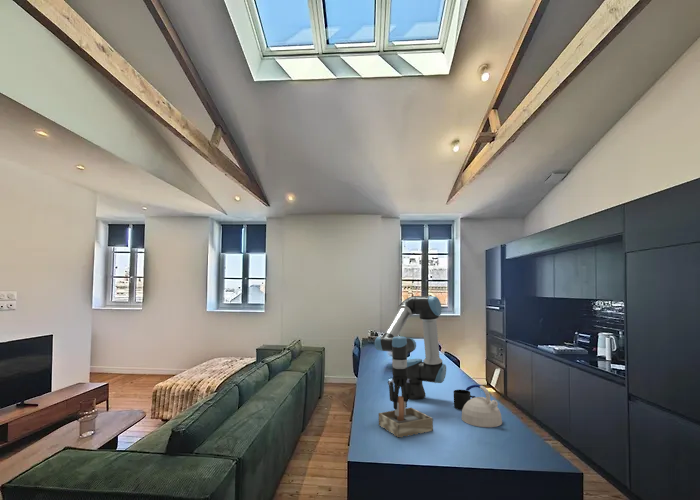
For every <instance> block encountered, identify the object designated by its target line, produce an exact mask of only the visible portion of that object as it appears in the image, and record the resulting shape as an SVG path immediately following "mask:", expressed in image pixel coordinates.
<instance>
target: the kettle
mask: <svg viewBox="0 0 700 500" xmlns="http://www.w3.org/2000/svg"><path fill="white" fill-rule="evenodd" d="M474 388H479V389H481V390H482V391H483V392H484V394H485V397H484V396H475V395H471V396H472V397H471V399H470V400H469V401H467V402H466V404H465V405H464V407H463V409H462V410H461V420H462V421H463V422H464V424H465V423H466V424H468V425H470V426H474V427H479V428H497V427H499V426H501V425H502V424H503V420H502V413H501V410H500V408H499V407H498V406H499V403H498V401H497V400H496V399H492V400H491V396H490V395H491V394H490V392H489V390H488V389H487V388H486V387H485V386H484V385H480V384H472V385H469V386H467V387H466V389H465V390H467V391H470V390H472V389H474ZM473 397H474V398H473Z"/></svg>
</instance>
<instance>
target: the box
mask: <svg viewBox="0 0 700 500" xmlns="http://www.w3.org/2000/svg"><path fill="white" fill-rule="evenodd" d="M433 421H434V419H433V417H431V416H429V415H428V414H425V413H424V412H422V411H419V410H417V409H416V408H413V407H406V415H404V420H403V421H398V420H397V416H396V415H395V409H394V410H389V411H384V412H378V426H379V425H380V426H381V428H382V427H383V428H385V429H386V430H385V429H384V430H385V431H387V430H388V431H389V432H388V431H387V432H388V433H390V432H391V433H393V434H394V435H393V434H392V435H393V436H395V437H396V436H397V437H396V438H398V437H401V438H404V437H403V436H406V437H409V436H408V435H410V436H414V435H413V434H415V435H419V434H418V433H420V434H425V433H429V432H432V431H433V432H434V422H433ZM380 426H379V427H380ZM383 428H382V429H383ZM424 432H425V433H424ZM391 433H390V434H391Z"/></svg>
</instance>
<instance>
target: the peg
mask: <svg viewBox="0 0 700 500" xmlns="http://www.w3.org/2000/svg"><path fill="white" fill-rule="evenodd" d="M398 403H399V416H397V420H398V421H403V420H404V398H403V396H402V395H398Z"/></svg>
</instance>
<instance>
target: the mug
mask: <svg viewBox="0 0 700 500" xmlns="http://www.w3.org/2000/svg"><path fill="white" fill-rule="evenodd" d="M472 396H473V395H471V391H470V390H469V391H468V390H466V389H454V390H453V407H454V409H456V410H459V411H460V410H461V411H462V409H463V407H464V405H465V404H466V402H467V401H469V400H470V399H472ZM473 398H475V397H473Z"/></svg>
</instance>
